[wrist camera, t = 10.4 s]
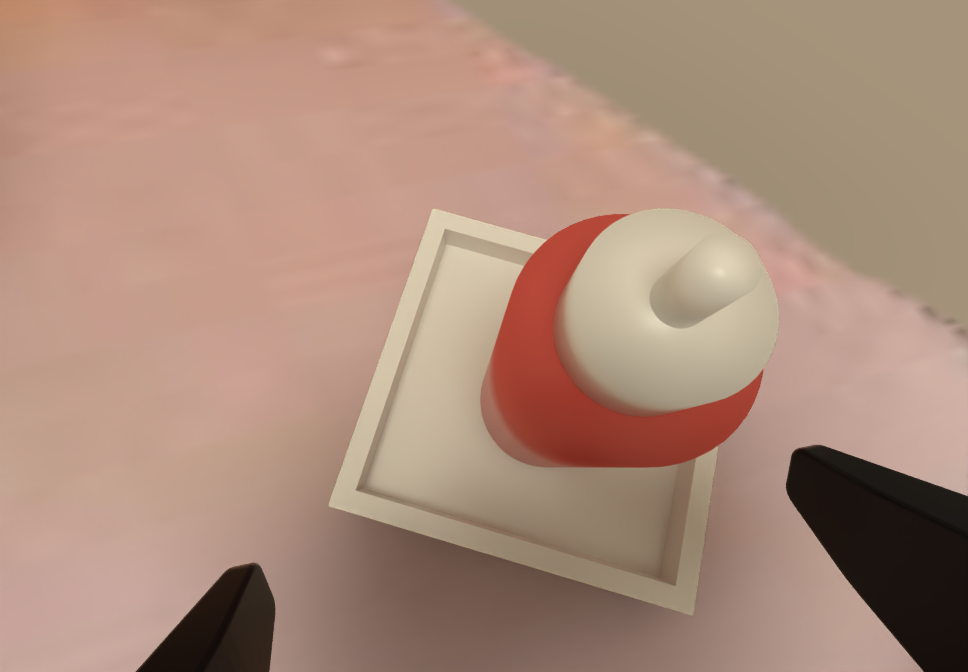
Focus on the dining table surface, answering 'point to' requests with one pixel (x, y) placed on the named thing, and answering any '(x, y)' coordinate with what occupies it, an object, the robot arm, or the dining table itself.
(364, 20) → the dining table surface
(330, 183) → the dining table surface
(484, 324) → the tray
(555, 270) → the squeeze bottle
